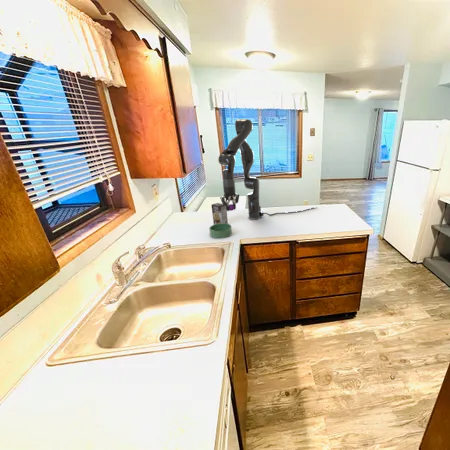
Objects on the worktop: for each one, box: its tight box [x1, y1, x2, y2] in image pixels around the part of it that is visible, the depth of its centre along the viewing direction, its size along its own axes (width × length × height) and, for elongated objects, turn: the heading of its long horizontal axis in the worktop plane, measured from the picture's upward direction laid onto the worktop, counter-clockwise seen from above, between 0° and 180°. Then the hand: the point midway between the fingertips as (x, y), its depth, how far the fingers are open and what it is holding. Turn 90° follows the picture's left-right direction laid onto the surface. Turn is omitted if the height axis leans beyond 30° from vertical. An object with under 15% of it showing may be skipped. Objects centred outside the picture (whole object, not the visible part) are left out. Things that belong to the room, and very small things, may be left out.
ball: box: [229, 203, 235, 212], centre depth 164 cm, size 4×4×4 cm
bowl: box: [208, 223, 233, 239], centre depth 162 cm, size 14×14×6 cm
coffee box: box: [211, 202, 229, 225], centre depth 178 cm, size 9×6×16 cm
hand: (231, 210), depth 164 cm, fingers closed on ball, 4 cm apart
